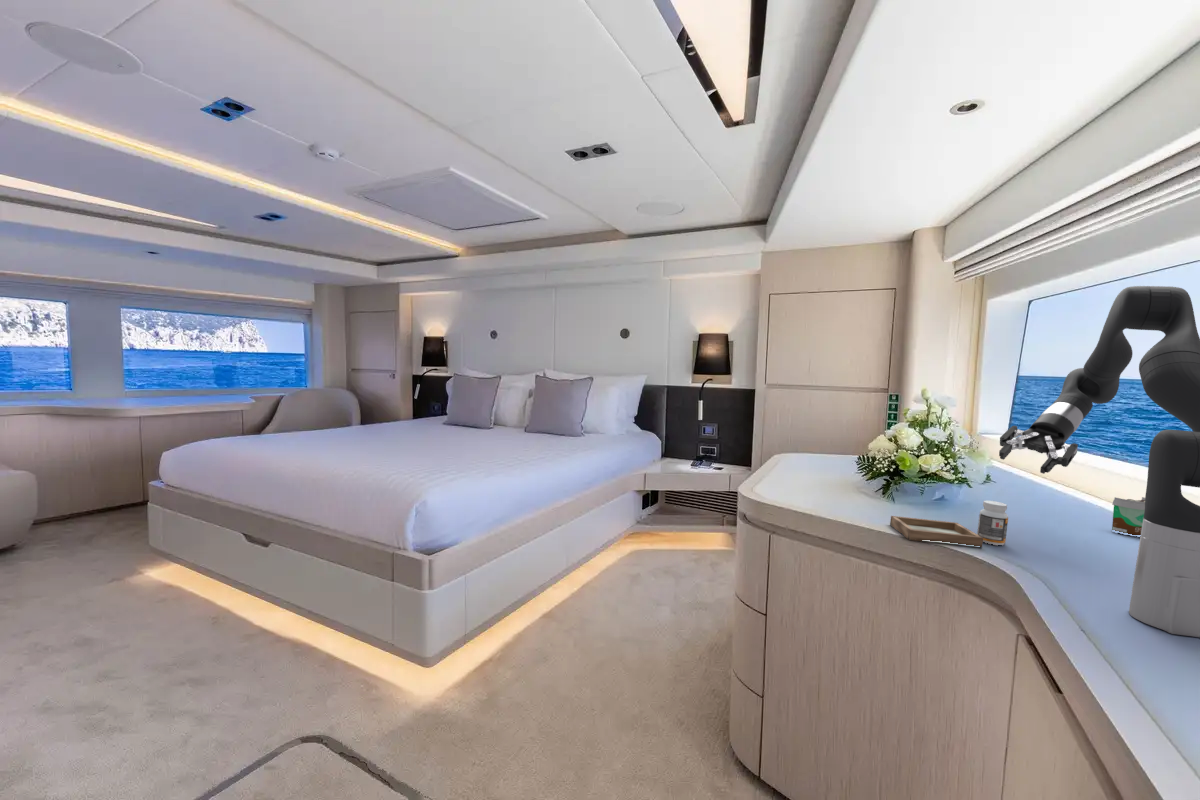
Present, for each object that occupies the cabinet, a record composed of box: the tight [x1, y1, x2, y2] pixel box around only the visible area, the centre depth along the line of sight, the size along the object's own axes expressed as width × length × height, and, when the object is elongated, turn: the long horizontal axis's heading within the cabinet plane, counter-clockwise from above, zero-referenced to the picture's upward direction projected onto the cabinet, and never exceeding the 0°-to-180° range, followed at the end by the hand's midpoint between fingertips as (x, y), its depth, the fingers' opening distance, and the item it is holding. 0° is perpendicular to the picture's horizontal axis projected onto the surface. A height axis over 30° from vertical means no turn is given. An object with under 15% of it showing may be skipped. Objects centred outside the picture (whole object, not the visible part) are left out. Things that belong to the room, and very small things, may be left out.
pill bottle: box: [976, 500, 1009, 546], centre depth 129 cm, size 6×6×10 cm
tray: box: [889, 515, 984, 548], centre depth 131 cm, size 12×16×2 cm
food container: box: [1111, 496, 1145, 535], centre depth 144 cm, size 12×6×10 cm, turn 105°
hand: (1021, 463), depth 128 cm, fingers open, 8 cm apart
